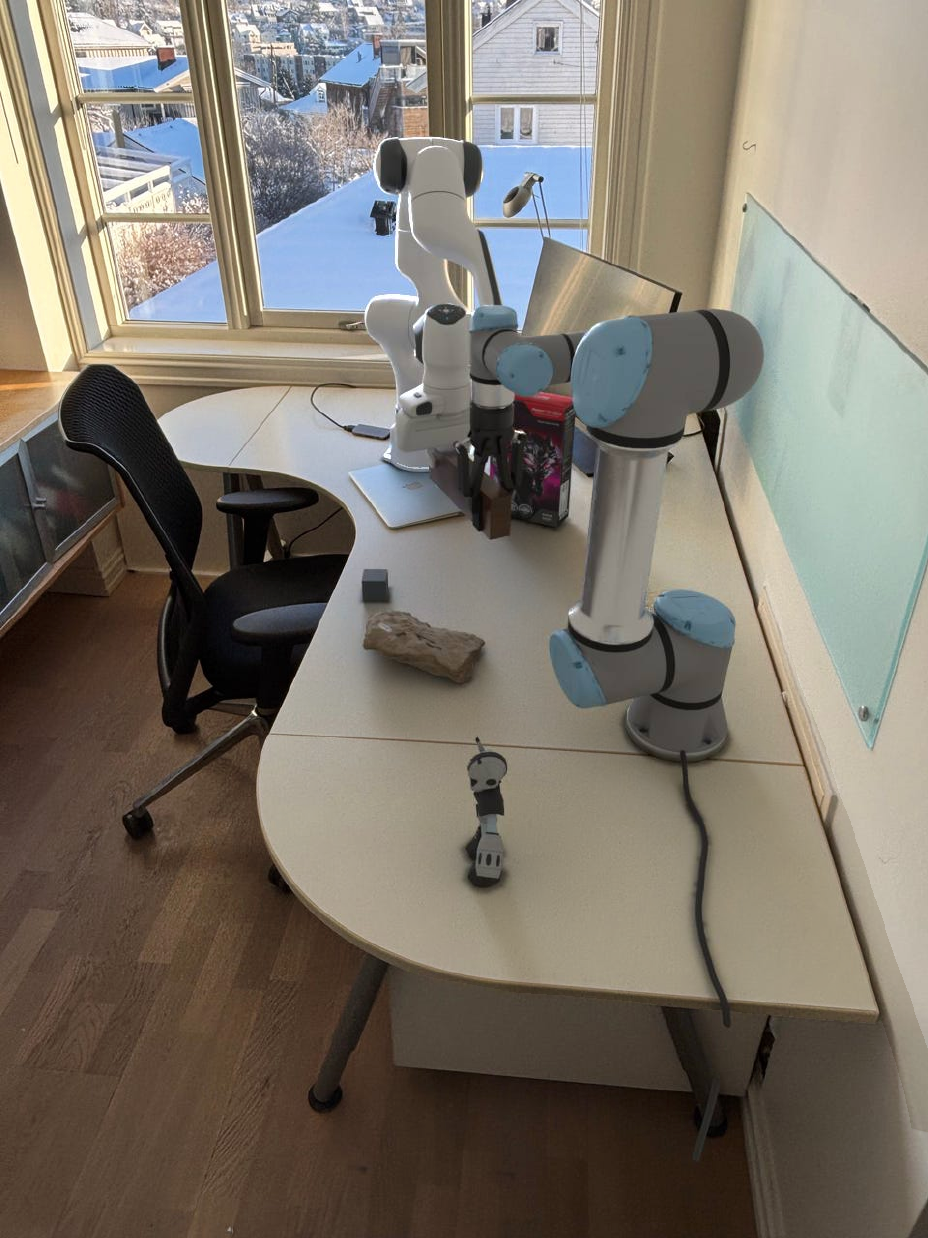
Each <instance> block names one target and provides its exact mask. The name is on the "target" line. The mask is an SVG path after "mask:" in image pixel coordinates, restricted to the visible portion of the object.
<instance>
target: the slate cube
mask: <svg viewBox="0 0 928 1238" xmlns="http://www.w3.org/2000/svg"><path fill="white" fill-rule="evenodd" d="M361 595H362V602H380V603H381V602H387V601H388V596H389V570H388V568H363V571H362V578H361Z"/></svg>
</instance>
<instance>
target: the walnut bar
mask: <svg viewBox="0 0 928 1238" xmlns="http://www.w3.org/2000/svg"><path fill="white" fill-rule="evenodd" d="M432 455H433V456H436V457H437V458H438V459H439V467H437V468H431V467H430V466H429V472H428V473H429V474H428V475H429V476H428V477H429V480H430V481H431V482H432V483H433V484H434V485H435V486H436V487H437V488H438V489H439V490H440V491H441V492H442V493H443V494H444V495H445V496H446V497H447V498H448V499H449V500H450V501H451V502H452V504H454V505H455V506H456V507H457V508H458V510H460V511H461V512H462V513H463V515H465V516H466V518H467V519H469V520H470V521H471V522H472V513H471V512H470V511H469V509H468V497H464V496H463V495H462V494H461V493H460V492H459V491H458V472H457V453H456V450H455V448H454V445H447V446H441V447H436V448H434V453H432ZM472 465H473V460H472V458H470V457H469V475H471V470H472ZM479 495H480V496H481V497H482V498H483V520H482V531H481V532H482V534H484V536H485V537H486V538H487V539H489V540H490V541H492V540H497V539H500V538H501V539H503V538H506V537H511V523H512V522H511V521H512V517H511V496H512V495H511V494H509V493H508V492H507V491H506V490H505V489H504V488H503V487H502V486H500V485H499V484H498V483H497V482H496V481H495V480H494V479H493V478H491V477H490V474H488V473H487V472H486V471H485V470H484V475H483V480H482V484H481V489H480V494H479Z"/></svg>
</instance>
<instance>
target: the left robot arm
mask: <svg viewBox="0 0 928 1238" xmlns="http://www.w3.org/2000/svg"><path fill="white" fill-rule="evenodd" d="M373 172H374V177H375V179H376V181H377V185H378V187H379V188H380V190H381V191H382V192H383V193H385V194H386V195H391V196H395V197H398V196H399V197H398V202H397V203H398V204H397V212H396V223H395V224H396V227H395V265H396V268H397V270H398V271H399V273H400V274H401V275H402V277H404V278H405V279H407V280H409V281H410V283H412V285H413V287H414V288H415V291H416V294H417V296H413V295H412V296H411V295H404V294H397V293H396V294H395V293H394V294H384V295H377V296H374V297H373V298H372V299H371V300H370V302H369V303H368V305H367V307H366V309H365V312H364V325H365V328H366V331H367V333H368V334H369V336H370V337H371V338H372V339H373V340H374V341H375V342H376V343H377V344H378V345H379V346H380V348H382V350H383V351H384V353H385V355H386V356H387V358H388V360H389V362H390V364H391V367H392V370H393V375H394V380H395V390H396V404H395V409H394V415H395V422H394V424H393V425H392V426H391V427H390V428H389V447H388V449H387V450H386V451H385V453H384V454H383V456H382V460H383V461H385V462H387V463H391V464H392V465H393V466H395V467H396V468H398V469H400V470H403V471H407V472H415V473H427V472H428V473H429V469H413V468H407V467H404V466H401V465H399V464H402V465H405V466H408V467H419V468H421V467H429V466H430V467H431V468H437V467H439V459H438V458H437V457H436V456H433V455H432V453H434V448H436V447H441V446H447V445H453V444H454V442H455V441H459V442H461V441H462V440H464V439H466V438H467V435H468V433H469V431H470V403H471V402H472V401H471V400H470V366H468V365H470V333H469V331H470V327H471V315H472V312H473V311H471V310H470V308H468V307H467V306H466V305H465V304H464V303H463V301H461V299H460V298H459V297H458V295H457V293H456V292H455V290H454V287H453V285H452V282H451V280H450V275H449V271H448V261H449V262H452V263H454V264H456V265H459V266H460V267H462V268H463V269H465V270H467V271H468V272H469V273H470V275H471V276H472V279H473V282H474V287H475V290H476V295H477V299H478V304H479V307H481V306H487V305H502V306H504V305H503V301H502V296H501V291H500V288H499V287H500V286H499V282H498V278H497V275H496V269H495V266H494V262H493V257H492V254H491V250H490V246H489V243H488V240H487V238H486V235H485V233H484V232H483V231H482V230H480V229H478V228H476V226H475V225H474V223H473V222H472V221H471V218H470V216H469V214H468V210H467V198H470V197H473V196H474V195H475V194H476V193H477V192H478V191H479V190H480V187H481V184H482V181H483V178H484V173H485V165H484V159H483V156H482V152H481V149H480V148H479V146H478V145H477V144H476V143H473V142H472V141H471V142H470V141H467V140H463V139H461V140H455V139H450V138H445V137H444V138H443V137H435V136H434V137H433V136H429V137H405V138H399V137H398V136H396V137H395V136H394V137H389V138H386V139H385V138H384V139H383V140H382V141H381V142H380V143H379V144H378V148H377V151H376V153H375V157H374V161H373ZM470 448H471V449H470V452H469V453H470V455H473V453H474V447H473V446H472V445H471V447H470ZM397 463H399V464H397Z"/></svg>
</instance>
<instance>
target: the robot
mask: <svg viewBox="0 0 928 1238" xmlns="http://www.w3.org/2000/svg"><path fill="white" fill-rule="evenodd" d="M474 740H475V743H476V746H477V748H478V750H479V751H478V752H477V753H475V755H473V756H472V757H471V758H470V759H469V761H468V762H467V765H466V770H467V776H468V779H469V781H470V782H469V789H470V791H472V792H473V793H472V794H473V796H474V799H475V801H476V804H475V814H476V819H477V820H478V827H477V828H476V831H475V833H474V835H473V836H472V838H471V839H470V841H469V842H468V843H467V845H466V847H465V851H466V853H467V855H468V857H469V858H470V859H472V860H474V861H473V862H472V864H471V866H470V868H469V871H468V874H467V877H466V878H467V879H468V880H469V882H470V883H472V885H473V886H476V887H479V888H486V887H491V886H492V885H494V884H496V883H498V882H500V880H501V877H502V873H503V872H502V867H503V866H502V865H503V859H504V849H505V847H504V843H503V838H502V836H501V835H500V833H498V825H497V824H498V816H501V817H504V816H505V804H504V803H505V801H504V797H503V795H502V793H501V785H500V784H501V783H502V779H503V778H504V777H506V775H507V773H508V762H507V759H506V758H505V757H504V756H503V755H502V754H501V753H499V752H497V751H495V750H492V749H485V747H484V745H483V743H482V741H481V739H480V738H479V736H476V737H475V739H474Z"/></svg>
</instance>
